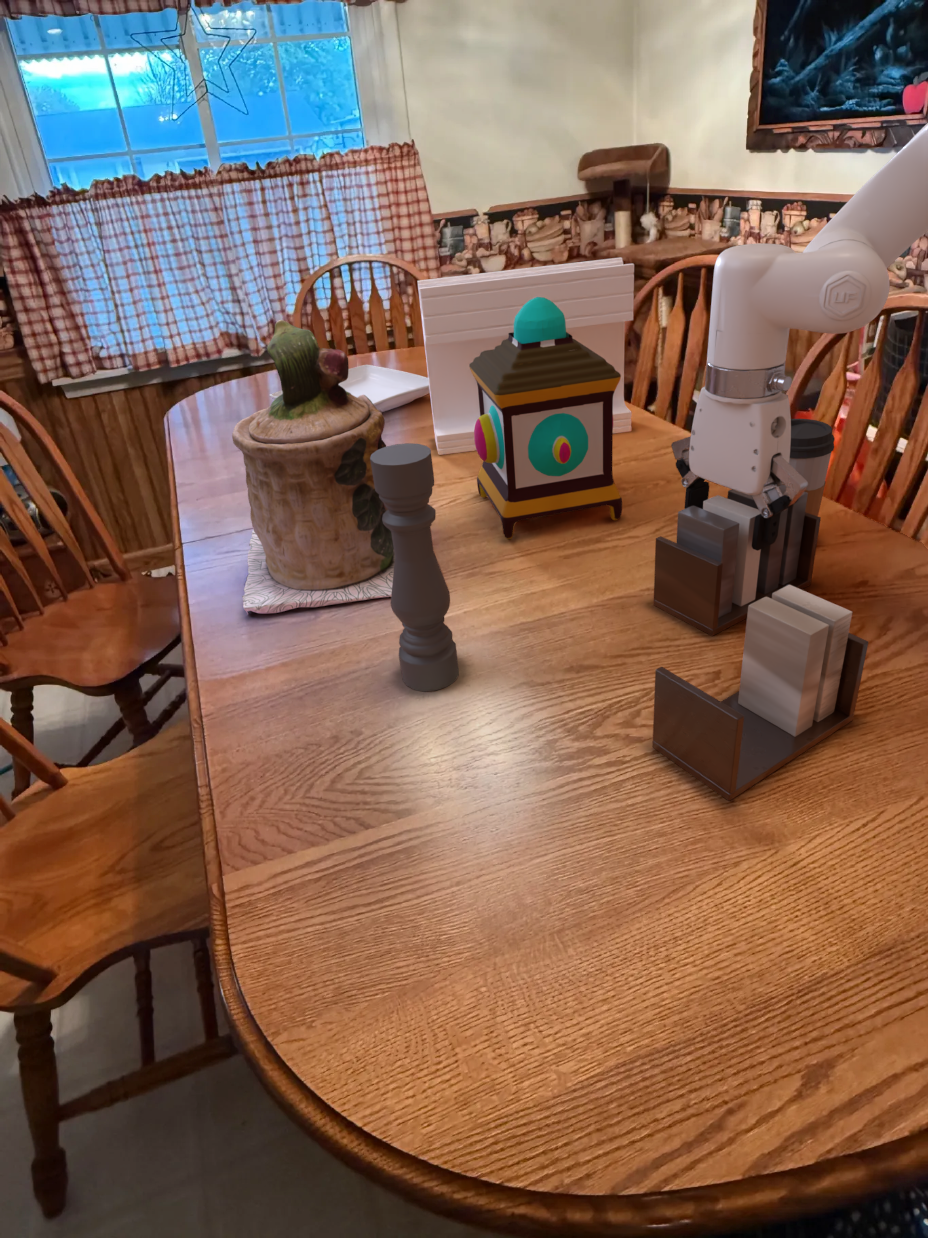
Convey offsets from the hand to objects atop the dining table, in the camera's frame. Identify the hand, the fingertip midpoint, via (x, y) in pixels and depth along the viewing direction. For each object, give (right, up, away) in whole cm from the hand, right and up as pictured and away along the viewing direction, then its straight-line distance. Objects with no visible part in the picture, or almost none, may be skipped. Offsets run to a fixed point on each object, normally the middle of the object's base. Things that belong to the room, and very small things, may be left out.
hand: (728, 531), depth 92 cm
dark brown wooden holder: (+2, -7, +5) cm, 9 cm away
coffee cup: (+13, 0, +16) cm, 20 cm away
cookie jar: (-47, -2, +21) cm, 52 cm away
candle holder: (-33, -16, -3) cm, 37 cm away
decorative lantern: (-17, +7, +31) cm, 36 cm away
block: (-17, +24, +58) cm, 65 cm away
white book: (+1, -7, +4) cm, 8 cm away
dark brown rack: (-3, -20, -16) cm, 26 cm away
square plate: (-53, +37, +86) cm, 107 cm away
